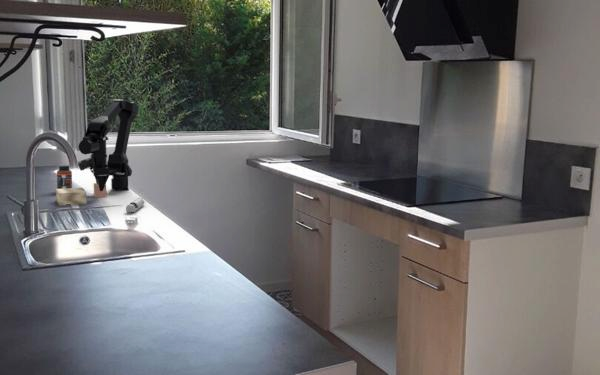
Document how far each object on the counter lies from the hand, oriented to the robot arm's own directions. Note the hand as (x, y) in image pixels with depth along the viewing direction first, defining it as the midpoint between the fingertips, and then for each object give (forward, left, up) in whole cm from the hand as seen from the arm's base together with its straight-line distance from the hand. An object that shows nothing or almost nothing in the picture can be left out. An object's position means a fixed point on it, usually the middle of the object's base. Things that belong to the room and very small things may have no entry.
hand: (100, 189), depth 265 cm
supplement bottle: (+13, -13, -3) cm, 19 cm away
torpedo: (-10, +30, -3) cm, 32 cm away
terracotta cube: (0, 0, -3) cm, 3 cm away
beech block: (+12, +11, -3) cm, 17 cm away
